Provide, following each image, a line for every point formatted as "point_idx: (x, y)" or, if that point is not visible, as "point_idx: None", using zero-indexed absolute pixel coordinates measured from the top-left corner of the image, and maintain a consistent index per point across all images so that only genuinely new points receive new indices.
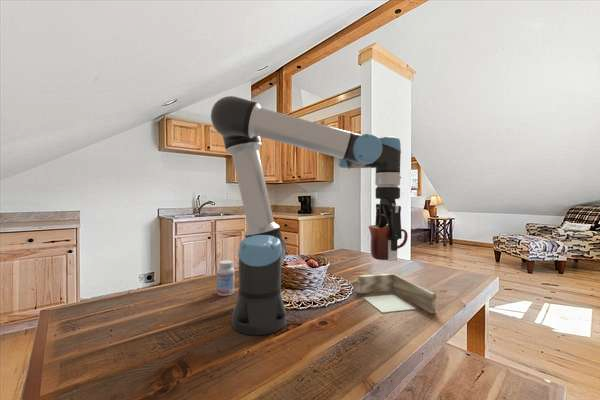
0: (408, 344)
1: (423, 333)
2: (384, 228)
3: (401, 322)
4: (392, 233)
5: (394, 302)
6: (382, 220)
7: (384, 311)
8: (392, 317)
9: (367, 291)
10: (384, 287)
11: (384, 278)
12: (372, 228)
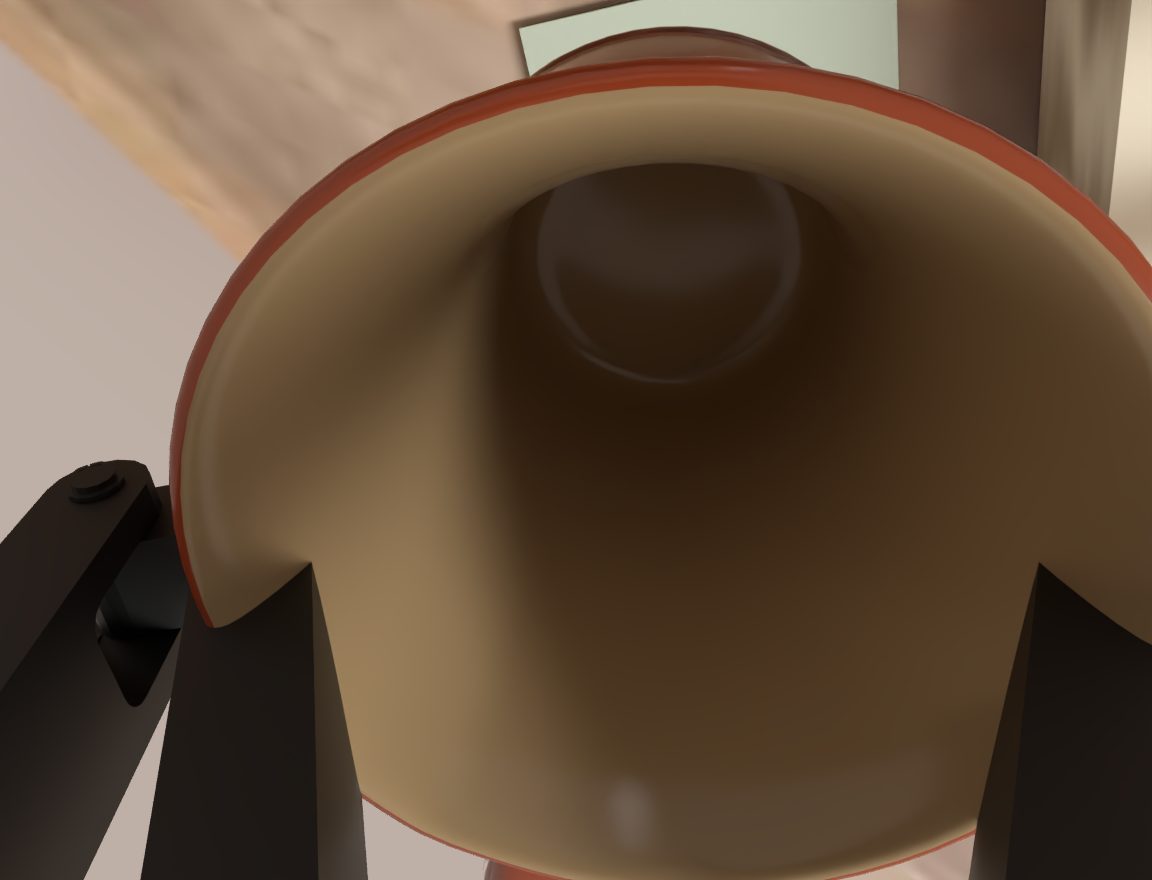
0: (50, 36)
1: (226, 214)
2: (172, 490)
3: (365, 130)
4: (70, 537)
5: None
6: (988, 874)
7: (536, 57)
8: (445, 92)
9: (1048, 52)
10: None
11: None
12: (413, 127)
